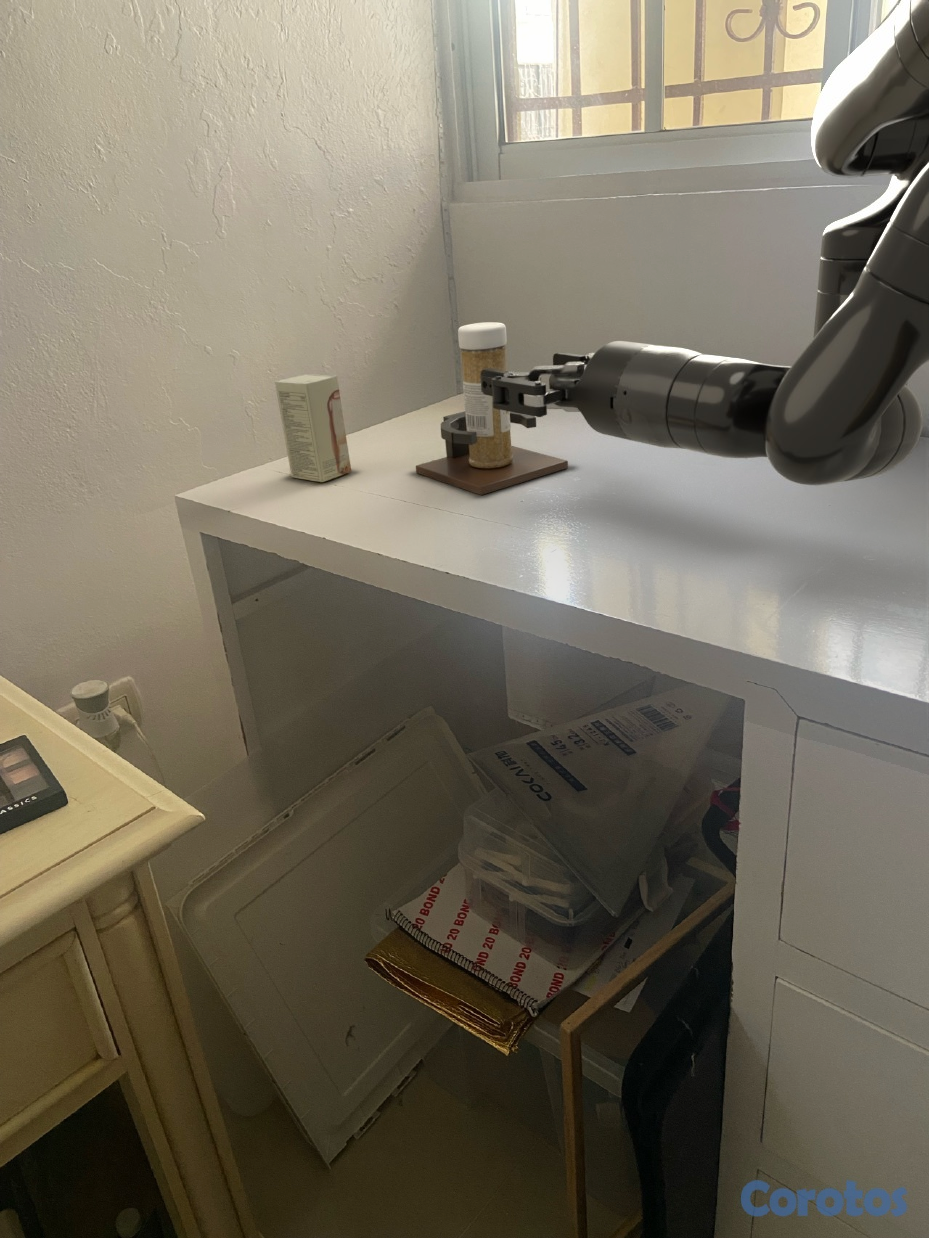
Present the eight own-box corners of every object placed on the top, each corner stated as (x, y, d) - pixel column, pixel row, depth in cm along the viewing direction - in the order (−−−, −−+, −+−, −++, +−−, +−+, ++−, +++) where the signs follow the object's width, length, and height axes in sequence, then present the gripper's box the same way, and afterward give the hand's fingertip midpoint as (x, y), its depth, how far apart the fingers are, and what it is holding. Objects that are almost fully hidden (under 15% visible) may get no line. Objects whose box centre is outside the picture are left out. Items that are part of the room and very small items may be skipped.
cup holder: (568, 468, 90) (566, 418, 88) (481, 495, 85) (477, 443, 83) (498, 449, 99) (496, 403, 96) (415, 472, 93) (410, 424, 91)
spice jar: (522, 462, 90) (515, 323, 85) (484, 473, 88) (475, 330, 82) (495, 454, 94) (487, 319, 88) (459, 463, 92) (448, 326, 86)
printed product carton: (353, 472, 95) (340, 375, 90) (322, 484, 92) (307, 384, 87) (320, 466, 98) (305, 371, 94) (289, 477, 95) (272, 380, 91)
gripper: (714, 331, 73) (576, 318, 85) (585, 362, 66) (454, 343, 78) (710, 423, 76) (578, 398, 88) (587, 462, 69) (461, 429, 81)
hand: (520, 372), depth 83 cm, fingers open, 8 cm apart
